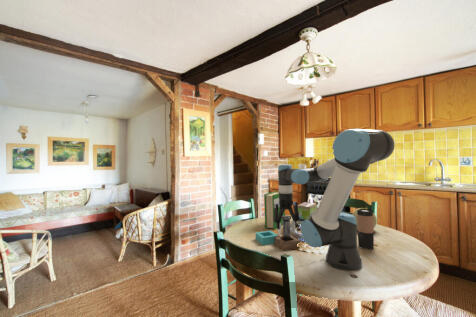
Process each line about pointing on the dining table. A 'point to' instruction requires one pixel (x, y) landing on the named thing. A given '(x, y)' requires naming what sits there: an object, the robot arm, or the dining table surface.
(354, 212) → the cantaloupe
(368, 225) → the travel mug
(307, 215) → the tea box
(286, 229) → the lock pin
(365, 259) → the dining table surface
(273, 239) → the teal socket
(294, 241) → the walnut mount
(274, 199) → the hardback book
